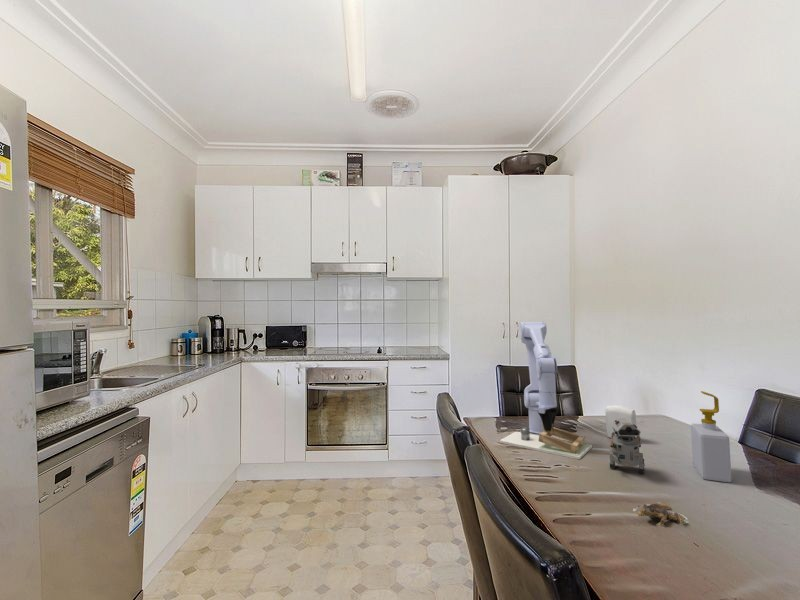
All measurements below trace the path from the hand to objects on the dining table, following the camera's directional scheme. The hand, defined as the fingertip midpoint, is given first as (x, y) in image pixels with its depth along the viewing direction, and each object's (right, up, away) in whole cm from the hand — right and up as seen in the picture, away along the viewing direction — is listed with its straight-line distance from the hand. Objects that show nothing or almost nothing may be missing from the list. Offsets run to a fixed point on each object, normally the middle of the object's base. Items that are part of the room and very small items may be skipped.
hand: (548, 429), depth 141 cm
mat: (+4, -5, -4) cm, 7 cm away
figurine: (+14, -5, -24) cm, 28 cm away
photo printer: (+29, -6, +5) cm, 30 cm away
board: (-1, -6, +1) cm, 6 cm away
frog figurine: (+7, -5, -50) cm, 51 cm away
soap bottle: (+37, -4, -27) cm, 46 cm away
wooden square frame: (+3, -4, -3) cm, 6 cm away
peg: (-7, -5, +6) cm, 10 cm away
